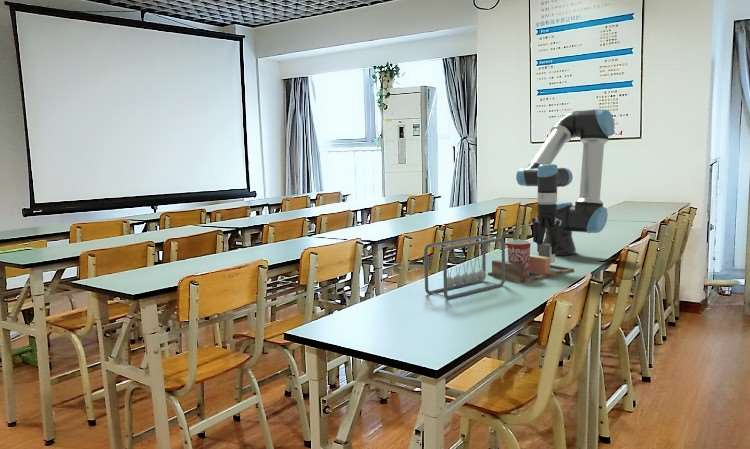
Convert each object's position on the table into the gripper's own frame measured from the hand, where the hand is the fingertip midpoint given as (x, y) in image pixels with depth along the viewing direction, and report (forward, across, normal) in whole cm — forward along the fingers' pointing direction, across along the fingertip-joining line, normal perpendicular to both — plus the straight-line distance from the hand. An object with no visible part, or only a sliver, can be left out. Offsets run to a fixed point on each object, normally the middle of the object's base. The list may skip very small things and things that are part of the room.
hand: (546, 261), depth 238 cm
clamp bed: (+4, 0, -10) cm, 10 cm away
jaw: (+4, 0, -8) cm, 9 cm away
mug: (+4, 0, -15) cm, 16 cm away
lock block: (0, 0, 0) cm, 0 cm away
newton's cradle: (+4, +3, -47) cm, 47 cm away
